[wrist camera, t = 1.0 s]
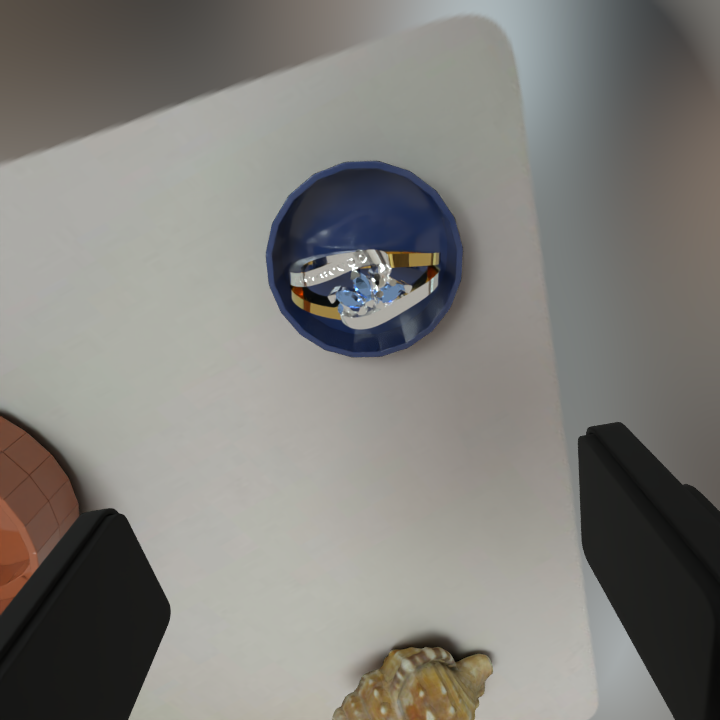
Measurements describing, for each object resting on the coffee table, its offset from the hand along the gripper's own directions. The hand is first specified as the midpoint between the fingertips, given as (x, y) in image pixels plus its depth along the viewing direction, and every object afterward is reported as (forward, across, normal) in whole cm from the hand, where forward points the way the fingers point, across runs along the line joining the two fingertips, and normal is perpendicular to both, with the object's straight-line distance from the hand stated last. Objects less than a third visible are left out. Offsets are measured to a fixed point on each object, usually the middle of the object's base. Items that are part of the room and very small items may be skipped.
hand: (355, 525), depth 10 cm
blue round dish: (+18, -1, -2) cm, 18 cm away
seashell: (+18, +2, +31) cm, 36 cm away
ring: (+18, -1, -2) cm, 18 cm away
